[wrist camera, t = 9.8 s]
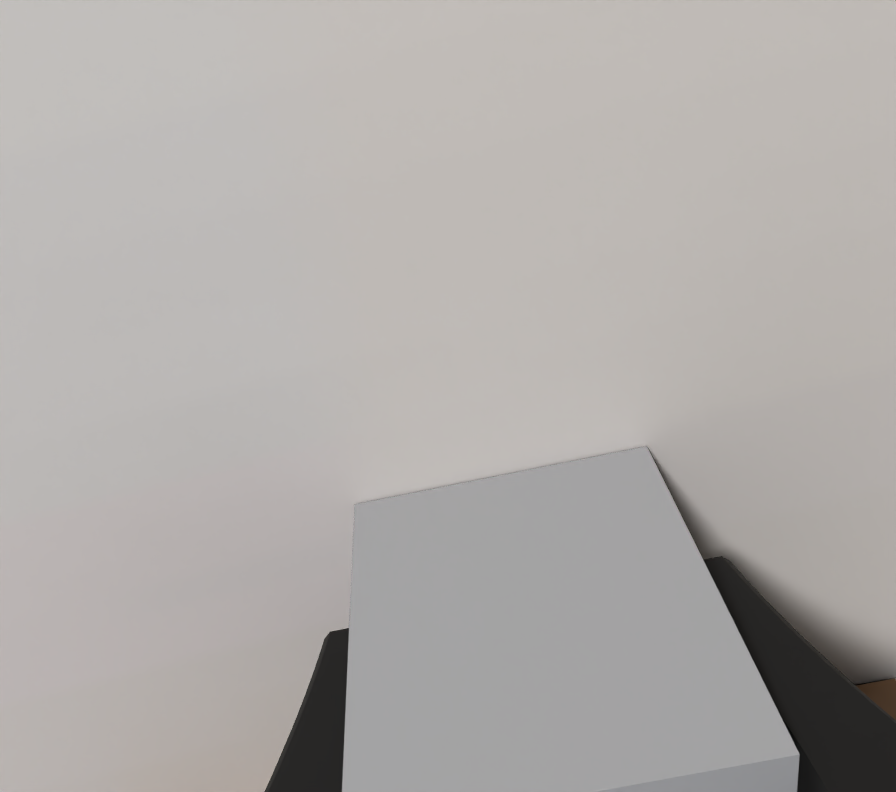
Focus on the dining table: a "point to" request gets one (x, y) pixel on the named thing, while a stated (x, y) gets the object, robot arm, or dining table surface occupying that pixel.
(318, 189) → the dining table surface
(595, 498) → the block
